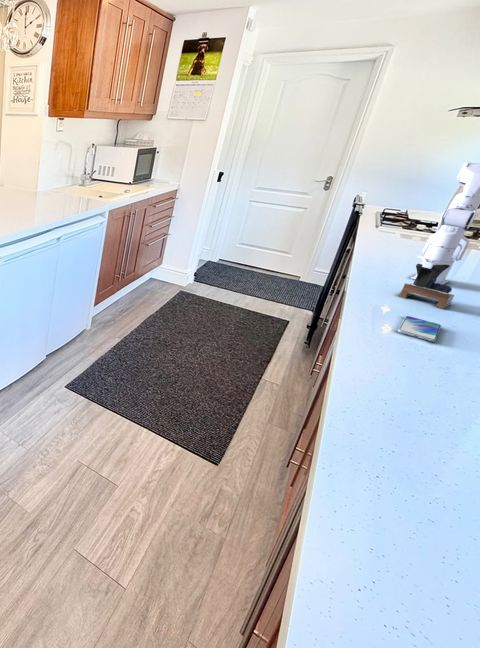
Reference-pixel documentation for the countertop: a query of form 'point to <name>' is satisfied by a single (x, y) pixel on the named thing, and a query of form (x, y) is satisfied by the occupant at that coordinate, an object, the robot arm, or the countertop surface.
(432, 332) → the smartphone
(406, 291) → the shoe shelf
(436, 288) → the trainer
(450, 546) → the countertop surface
